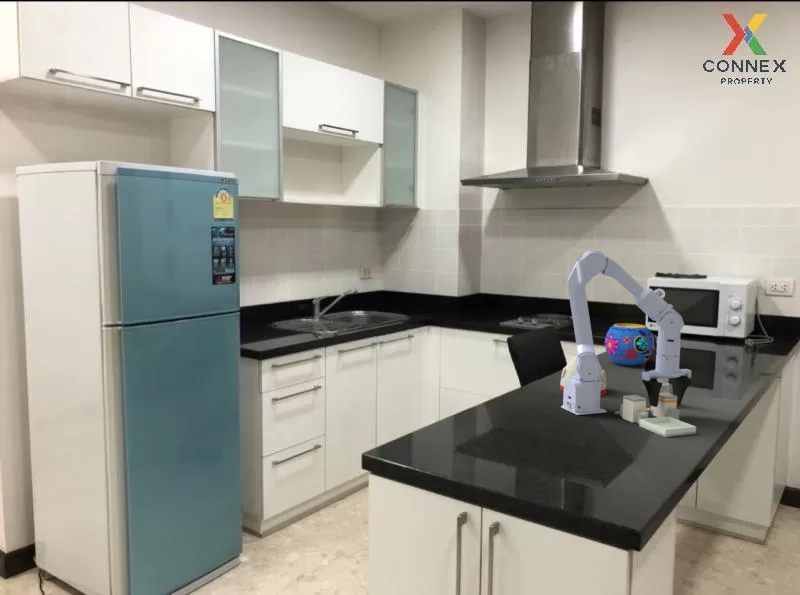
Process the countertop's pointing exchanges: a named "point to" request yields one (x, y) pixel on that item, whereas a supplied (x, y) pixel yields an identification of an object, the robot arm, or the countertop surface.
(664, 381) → the supplement bottle
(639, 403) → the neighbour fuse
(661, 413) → the white box with band
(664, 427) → the tray
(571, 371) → the kitchen timer
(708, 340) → the countertop surface
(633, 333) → the ceramic pot
